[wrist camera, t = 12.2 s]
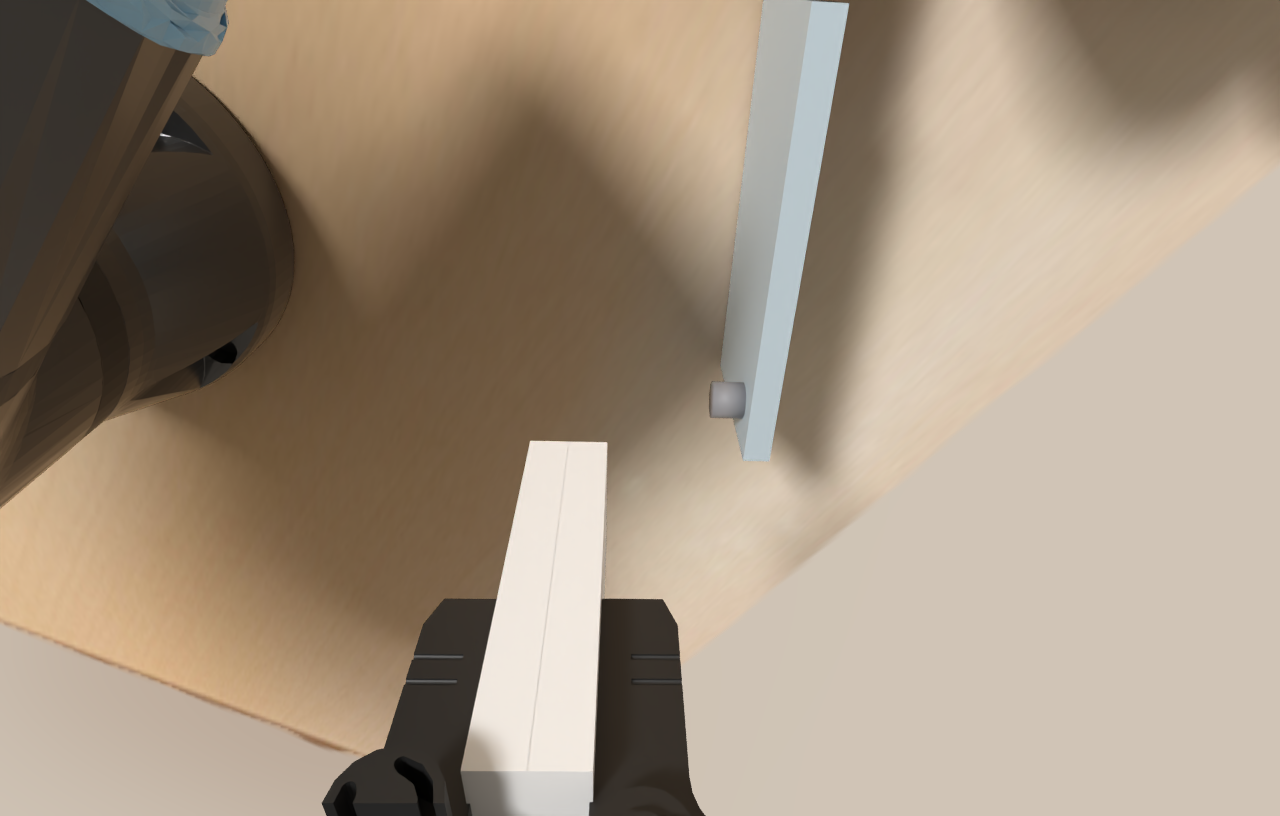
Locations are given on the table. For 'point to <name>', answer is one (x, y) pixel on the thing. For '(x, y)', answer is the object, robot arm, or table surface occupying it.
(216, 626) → the table surface
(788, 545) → the table surface
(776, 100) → the door
